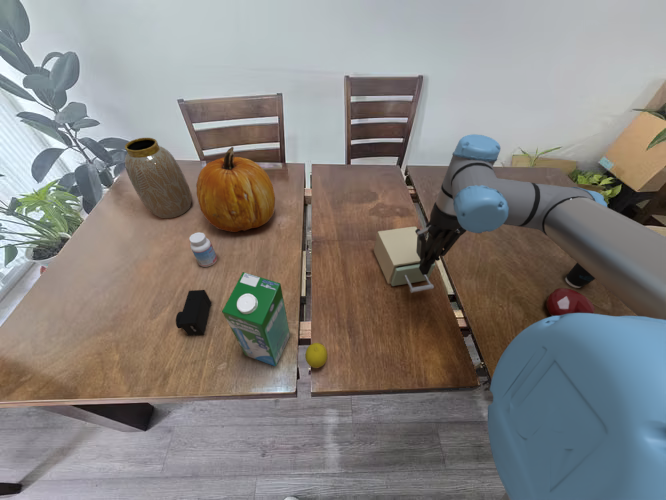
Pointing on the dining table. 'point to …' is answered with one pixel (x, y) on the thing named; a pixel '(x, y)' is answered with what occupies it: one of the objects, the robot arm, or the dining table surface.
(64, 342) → the dining table surface
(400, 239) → the cabinet
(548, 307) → the heart
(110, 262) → the dining table surface
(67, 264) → the dining table surface
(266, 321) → the milk carton
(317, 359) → the lemon
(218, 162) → the pumpkin
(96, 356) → the dining table surface
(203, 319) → the digital camera
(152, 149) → the vase
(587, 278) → the dixie cup
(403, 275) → the drawer
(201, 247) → the pill bottle
